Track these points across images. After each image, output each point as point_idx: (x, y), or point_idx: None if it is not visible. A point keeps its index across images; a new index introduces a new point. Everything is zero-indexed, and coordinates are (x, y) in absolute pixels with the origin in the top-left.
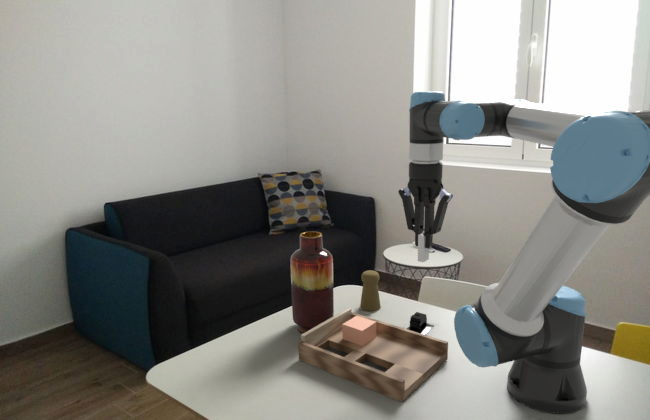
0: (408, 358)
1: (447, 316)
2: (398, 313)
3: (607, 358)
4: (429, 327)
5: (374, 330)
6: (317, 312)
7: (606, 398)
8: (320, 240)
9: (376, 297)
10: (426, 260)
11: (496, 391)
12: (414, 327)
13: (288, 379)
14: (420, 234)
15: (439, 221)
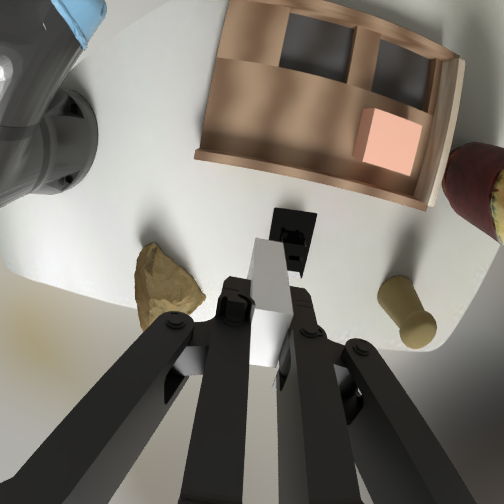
0: (261, 95)
1: None
2: (341, 291)
3: (29, 268)
4: None
5: (358, 151)
6: (477, 152)
7: None
8: None
9: (391, 302)
10: (250, 263)
11: (107, 100)
12: (293, 234)
13: (424, 4)
14: (280, 321)
15: (111, 373)
